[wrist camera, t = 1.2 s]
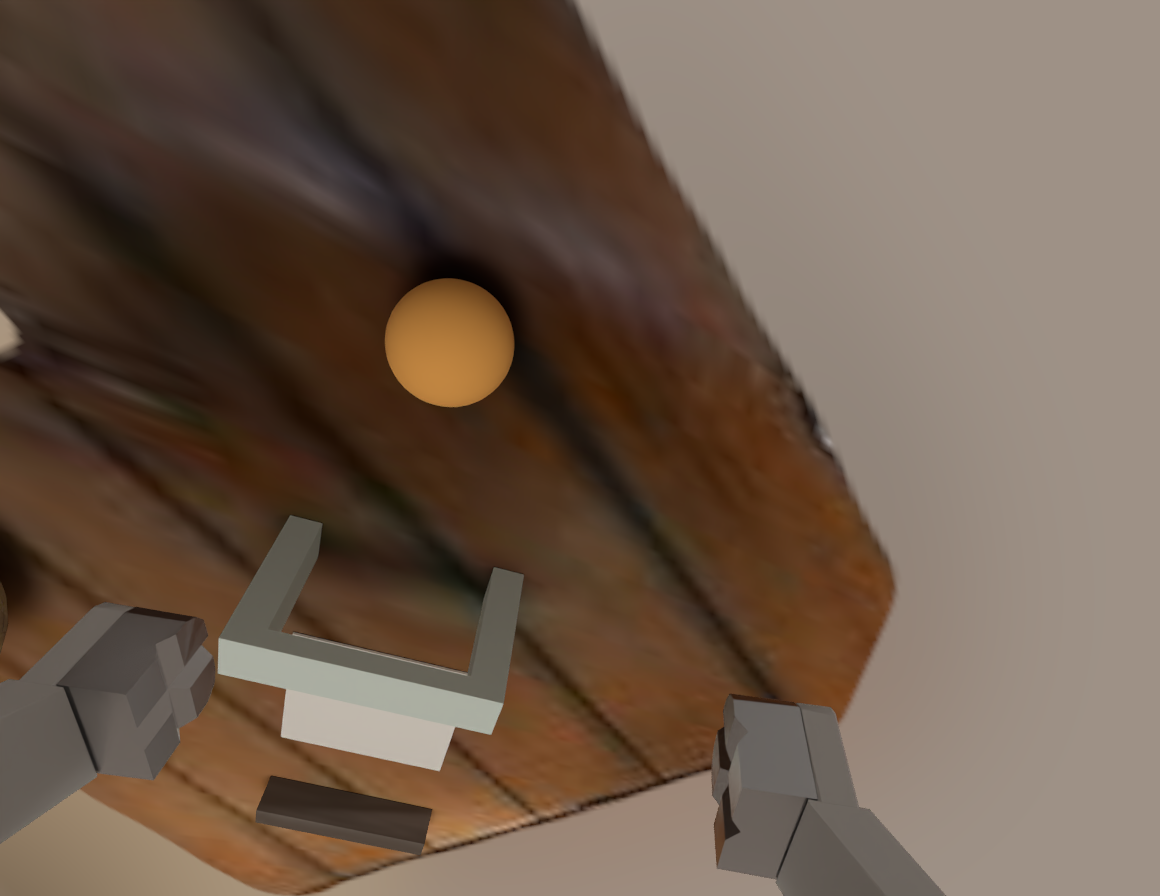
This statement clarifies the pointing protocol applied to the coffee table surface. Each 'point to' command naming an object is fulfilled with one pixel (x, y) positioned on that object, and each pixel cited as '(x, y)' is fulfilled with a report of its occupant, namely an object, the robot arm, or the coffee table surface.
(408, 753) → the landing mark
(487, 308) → the ball
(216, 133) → the coffee table surface
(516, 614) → the bridge
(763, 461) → the coffee table surface
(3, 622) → the fossilized egg
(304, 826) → the wall
